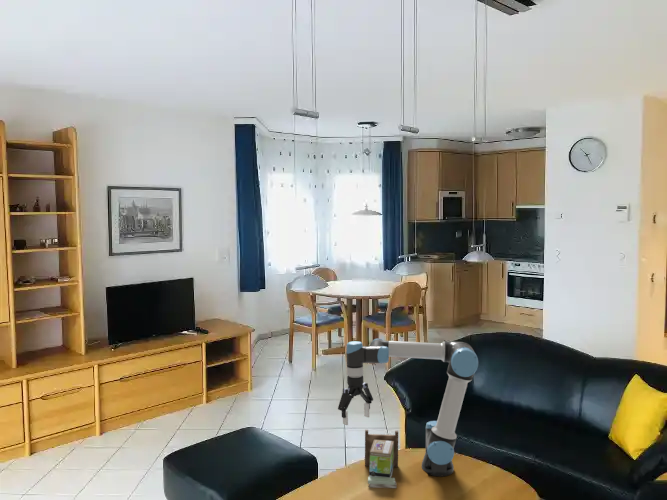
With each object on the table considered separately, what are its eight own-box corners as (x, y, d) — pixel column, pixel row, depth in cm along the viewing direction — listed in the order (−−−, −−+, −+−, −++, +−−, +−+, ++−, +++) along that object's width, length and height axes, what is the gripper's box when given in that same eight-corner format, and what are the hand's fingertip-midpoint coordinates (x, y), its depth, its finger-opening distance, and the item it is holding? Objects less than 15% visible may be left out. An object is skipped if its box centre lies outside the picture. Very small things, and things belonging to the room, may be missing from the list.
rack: (397, 466, 270) (398, 430, 269) (397, 468, 268) (398, 432, 267) (364, 465, 271) (365, 429, 270) (364, 467, 269) (365, 431, 268)
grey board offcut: (396, 484, 251) (396, 481, 251) (396, 488, 247) (396, 484, 247) (369, 483, 252) (369, 480, 252) (369, 487, 248) (369, 483, 248)
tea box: (390, 485, 252) (390, 453, 251) (368, 482, 254) (368, 451, 253) (393, 470, 266) (394, 440, 266) (372, 468, 269) (373, 438, 268)
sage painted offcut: (394, 481, 251) (394, 477, 251) (394, 484, 247) (394, 481, 247) (368, 479, 252) (368, 476, 252) (368, 483, 249) (368, 480, 248)
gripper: (368, 368, 267) (369, 411, 268) (329, 379, 250) (330, 425, 252) (379, 371, 261) (381, 415, 262) (340, 382, 245) (341, 429, 246)
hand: (356, 420), depth 257 cm, fingers open, 13 cm apart
